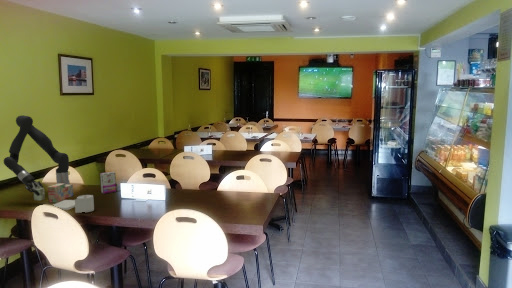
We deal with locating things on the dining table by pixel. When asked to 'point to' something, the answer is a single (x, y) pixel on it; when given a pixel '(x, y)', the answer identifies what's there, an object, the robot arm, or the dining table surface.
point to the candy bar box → (108, 182)
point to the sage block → (41, 195)
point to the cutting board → (65, 204)
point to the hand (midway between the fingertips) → (41, 193)
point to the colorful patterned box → (59, 192)
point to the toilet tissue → (84, 204)
